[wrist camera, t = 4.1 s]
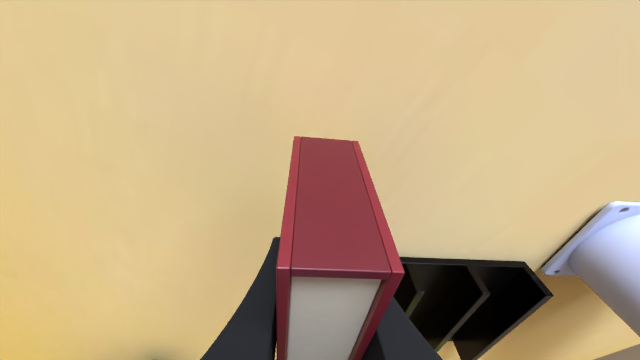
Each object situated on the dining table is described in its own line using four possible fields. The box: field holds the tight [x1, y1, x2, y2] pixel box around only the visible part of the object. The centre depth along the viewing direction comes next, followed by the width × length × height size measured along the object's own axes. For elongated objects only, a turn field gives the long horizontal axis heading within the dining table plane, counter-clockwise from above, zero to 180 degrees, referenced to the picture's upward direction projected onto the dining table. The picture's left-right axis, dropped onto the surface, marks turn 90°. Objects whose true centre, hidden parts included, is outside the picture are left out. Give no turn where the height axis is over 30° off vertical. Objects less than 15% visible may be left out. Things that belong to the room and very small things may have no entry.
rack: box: [393, 257, 554, 360], centre depth 22 cm, size 16×14×3 cm
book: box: [276, 136, 405, 360], centre depth 11 cm, size 3×10×6 cm, turn 174°
